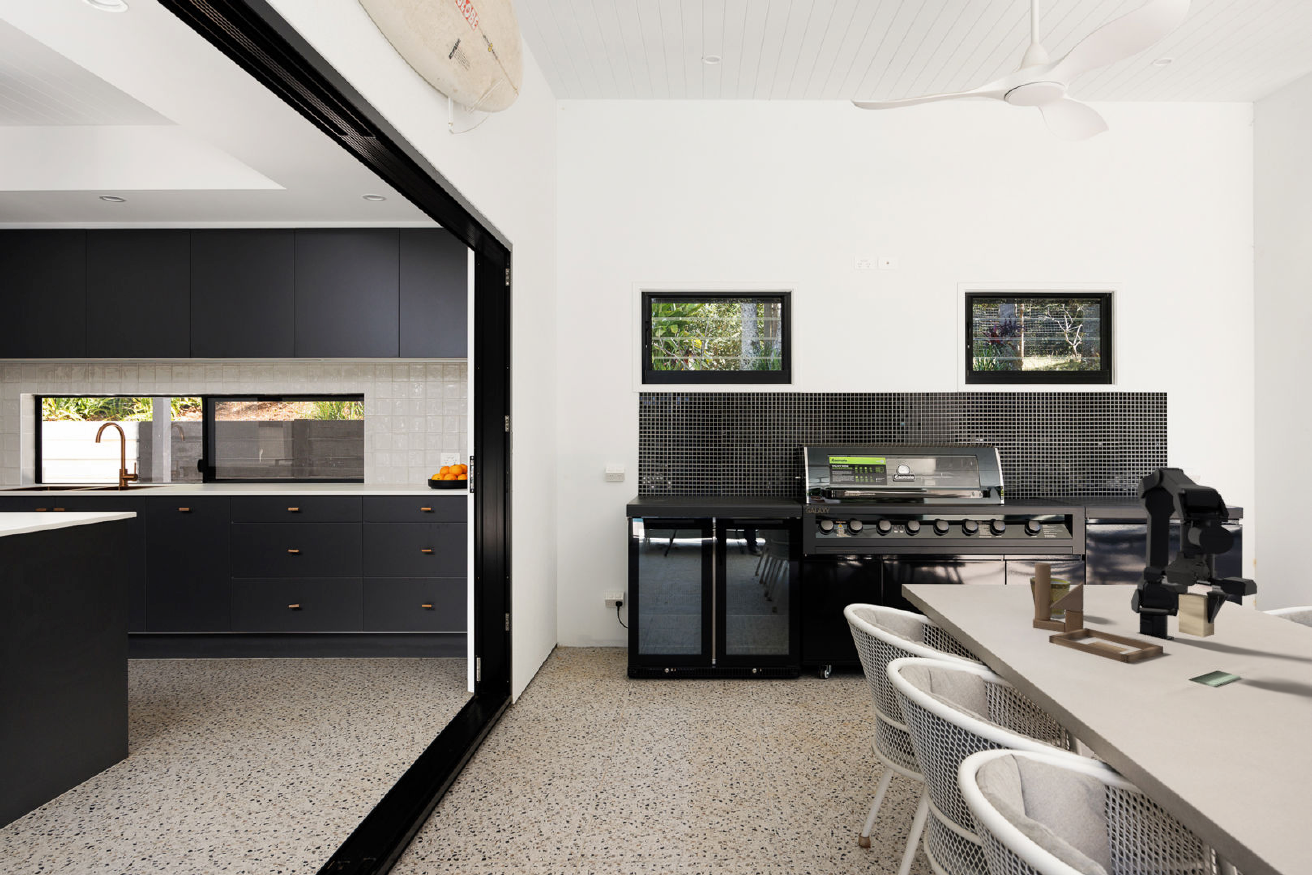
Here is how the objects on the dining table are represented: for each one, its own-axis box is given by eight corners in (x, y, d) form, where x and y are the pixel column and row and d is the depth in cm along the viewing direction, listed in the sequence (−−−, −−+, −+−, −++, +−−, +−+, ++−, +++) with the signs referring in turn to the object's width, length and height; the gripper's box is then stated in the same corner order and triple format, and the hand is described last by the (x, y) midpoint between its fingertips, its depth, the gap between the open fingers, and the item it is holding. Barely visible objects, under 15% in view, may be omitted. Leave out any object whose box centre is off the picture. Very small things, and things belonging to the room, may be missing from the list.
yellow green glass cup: (1078, 620, 190) (1078, 583, 190) (1041, 619, 190) (1041, 583, 190) (1051, 608, 203) (1051, 574, 203) (1017, 608, 203) (1017, 574, 203)
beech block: (1189, 629, 149) (1189, 592, 149) (1214, 634, 145) (1214, 596, 145) (1178, 631, 147) (1178, 594, 147) (1203, 637, 143) (1203, 598, 143)
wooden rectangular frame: (1086, 640, 171) (1086, 627, 171) (1163, 659, 156) (1163, 646, 156) (1049, 648, 164) (1049, 635, 164) (1125, 669, 149) (1126, 655, 149)
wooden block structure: (1081, 641, 170) (1081, 568, 170) (1032, 633, 177) (1032, 563, 177) (1083, 638, 173) (1083, 566, 173) (1035, 630, 179) (1035, 561, 179)
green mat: (1180, 662, 154) (1180, 661, 154) (1240, 678, 144) (1240, 676, 144) (1153, 670, 148) (1153, 668, 148) (1214, 686, 139) (1214, 684, 139)
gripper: (1128, 543, 151) (1128, 614, 151) (1231, 556, 134) (1231, 636, 134) (1156, 540, 156) (1155, 608, 156) (1258, 552, 140) (1258, 629, 140)
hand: (1196, 620), depth 146 cm, fingers closed on beech block, 4 cm apart
